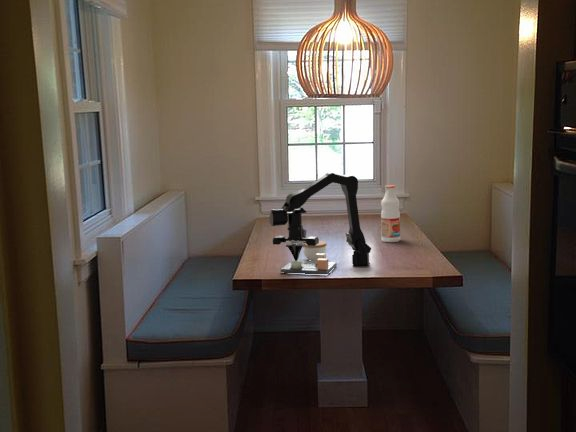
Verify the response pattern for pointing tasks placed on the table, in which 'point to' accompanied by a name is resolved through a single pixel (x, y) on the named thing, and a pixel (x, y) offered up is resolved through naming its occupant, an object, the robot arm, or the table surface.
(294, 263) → the button
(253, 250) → the table surface
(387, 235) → the fruit juice
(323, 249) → the lidded jar
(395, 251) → the table surface
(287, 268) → the panel
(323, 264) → the slider
